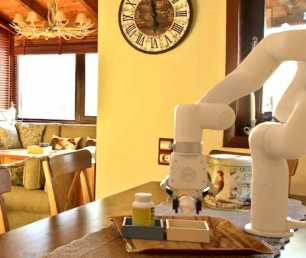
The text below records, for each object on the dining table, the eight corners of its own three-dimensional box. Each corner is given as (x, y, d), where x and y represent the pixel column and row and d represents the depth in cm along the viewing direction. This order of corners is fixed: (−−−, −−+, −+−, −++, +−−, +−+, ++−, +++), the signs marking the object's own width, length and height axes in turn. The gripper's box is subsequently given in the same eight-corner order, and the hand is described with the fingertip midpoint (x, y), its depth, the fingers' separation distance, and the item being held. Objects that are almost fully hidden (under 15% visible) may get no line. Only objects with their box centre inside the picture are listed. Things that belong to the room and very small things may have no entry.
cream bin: (205, 232, 148) (206, 220, 148) (209, 242, 138) (209, 229, 138) (166, 230, 151) (166, 219, 150) (167, 240, 141) (167, 227, 141)
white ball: (174, 214, 144) (175, 196, 143) (180, 210, 147) (181, 193, 147) (192, 216, 141) (193, 198, 140) (198, 213, 144) (198, 195, 144)
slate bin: (162, 230, 151) (162, 218, 151) (163, 240, 141) (163, 227, 141) (124, 228, 154) (124, 216, 154) (122, 237, 144) (122, 225, 144)
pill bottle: (155, 235, 144) (155, 196, 143) (132, 234, 145) (132, 196, 144) (153, 229, 150) (154, 192, 149) (132, 229, 151) (132, 191, 150)
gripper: (156, 149, 141) (155, 214, 143) (222, 150, 137) (220, 217, 138) (156, 146, 149) (155, 208, 150) (218, 147, 144) (217, 211, 146)
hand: (186, 212), depth 144 cm, fingers closed on white ball, 5 cm apart
